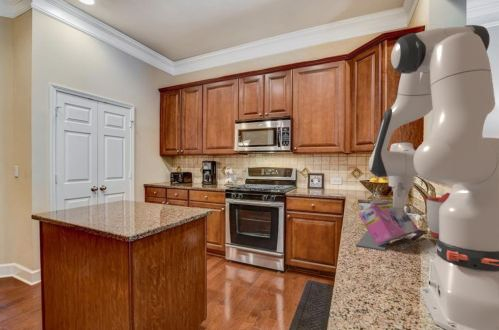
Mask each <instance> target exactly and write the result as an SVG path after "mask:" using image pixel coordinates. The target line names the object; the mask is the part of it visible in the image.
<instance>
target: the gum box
mask: <svg viewBox="0 0 499 330" xmlns="http://www.w3.org/2000/svg"><path fill="white" fill-rule="evenodd" d="M357 215H358V216H359V218H360V220H361V221H362V223H363V226H365V228H366V230H367V231H369V233H370V235H371V236H372V238H373V240H374V241H375V243H376V245H378V244H381V243H385V242H388V243H389V242H392V241H395V240H399V239H401V238H402V237H405V236H407V235H409V234H412V233H414V232H416V231H418V230H420V229H419V227H417V225H416V224H415V222H413V220H412V218H411V217H410V216H409V215H408V213H407V212H406V211H405V210H404V213H403V214H402V219H398V218H397V213H396V208H393V202H391V204H382V205H373V206H369V207H367V208H366V209H364V210H362V211H361V212H360V213H358V214H357ZM402 239H403V238H402Z"/></svg>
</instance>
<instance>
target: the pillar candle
mask: <svg viewBox="0 0 499 330" xmlns="http://www.w3.org/2000/svg"><path fill="white" fill-rule="evenodd" d="M369 203H370V206H373V205H382V204H391V203H392V201H389V200H382V199H380V200H370V202H369ZM370 206H369V207H370Z"/></svg>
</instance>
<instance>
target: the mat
mask: <svg viewBox="0 0 499 330" xmlns="http://www.w3.org/2000/svg"><path fill="white" fill-rule="evenodd" d="M388 244H389V242H385V243H381V244H378V245H376V243H375V241H374V240H373V238H372V236H371V235H370V233H369V231H368V230H367V231H366V232H365V233H364V235H362V237H361V238H360V239H359V241H358V242H357V243H356V245H355V246H356V247H359V248H364V249H371V250H377V251H383V252H385V251H386V248H387V246H388Z"/></svg>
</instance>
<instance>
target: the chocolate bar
mask: <svg viewBox="0 0 499 330" xmlns="http://www.w3.org/2000/svg"><path fill="white" fill-rule="evenodd" d="M425 233H426V230H422V229H419V230H418V231H416V232H414V233H412V234H409V235H407V236H405V237H402V239H407V240H413V241H416V240H417V239H418V238H420V237H421V236H422V235H423V234H425Z"/></svg>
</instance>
